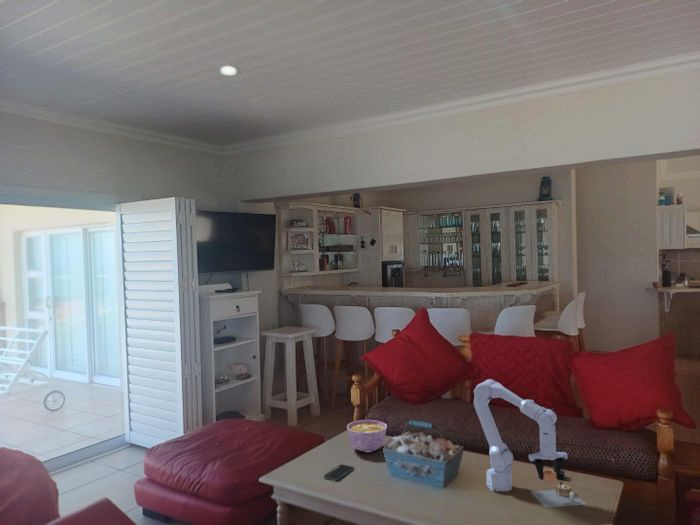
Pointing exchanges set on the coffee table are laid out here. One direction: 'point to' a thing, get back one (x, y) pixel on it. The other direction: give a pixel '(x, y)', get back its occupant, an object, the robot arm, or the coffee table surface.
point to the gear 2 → (563, 489)
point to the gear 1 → (549, 475)
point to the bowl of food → (367, 434)
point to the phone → (338, 472)
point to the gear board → (557, 499)
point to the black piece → (561, 475)
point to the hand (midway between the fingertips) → (548, 478)
